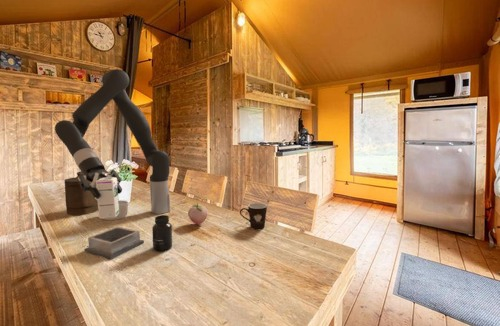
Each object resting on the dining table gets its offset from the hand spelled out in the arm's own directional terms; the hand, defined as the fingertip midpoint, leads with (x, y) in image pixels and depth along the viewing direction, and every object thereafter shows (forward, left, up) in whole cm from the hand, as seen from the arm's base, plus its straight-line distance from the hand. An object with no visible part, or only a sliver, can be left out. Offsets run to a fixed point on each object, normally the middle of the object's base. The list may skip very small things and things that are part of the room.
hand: (110, 194), depth 92 cm
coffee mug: (-57, +7, -20) cm, 61 cm away
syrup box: (+1, -1, -9) cm, 9 cm away
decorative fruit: (-35, -7, -20) cm, 41 cm away
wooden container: (+17, -54, -20) cm, 60 cm away
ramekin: (+1, -36, -20) cm, 41 cm away
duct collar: (-1, +3, -20) cm, 20 cm away
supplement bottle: (-17, +11, -20) cm, 28 cm away
